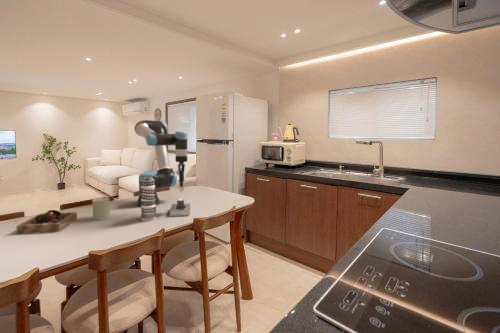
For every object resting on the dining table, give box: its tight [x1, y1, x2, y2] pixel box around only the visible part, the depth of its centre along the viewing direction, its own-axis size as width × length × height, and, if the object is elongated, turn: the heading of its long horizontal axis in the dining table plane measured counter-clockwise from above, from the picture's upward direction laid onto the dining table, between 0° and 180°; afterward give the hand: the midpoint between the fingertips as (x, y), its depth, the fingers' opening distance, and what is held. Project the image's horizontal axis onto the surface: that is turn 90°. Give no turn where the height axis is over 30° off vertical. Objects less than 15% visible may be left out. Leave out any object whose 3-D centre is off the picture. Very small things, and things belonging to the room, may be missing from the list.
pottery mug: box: [35, 209, 62, 224], centre depth 147 cm, size 12×10×8 cm
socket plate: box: [169, 203, 191, 217], centre depth 172 cm, size 12×16×4 cm
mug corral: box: [16, 211, 78, 235], centre depth 145 cm, size 19×21×4 cm
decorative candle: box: [140, 177, 157, 222], centre depth 157 cm, size 9×9×25 cm
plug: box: [176, 198, 185, 209], centre depth 172 cm, size 4×4×8 cm
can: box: [91, 196, 111, 221], centre depth 158 cm, size 9×9×12 cm
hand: (181, 191), depth 174 cm, fingers closed
